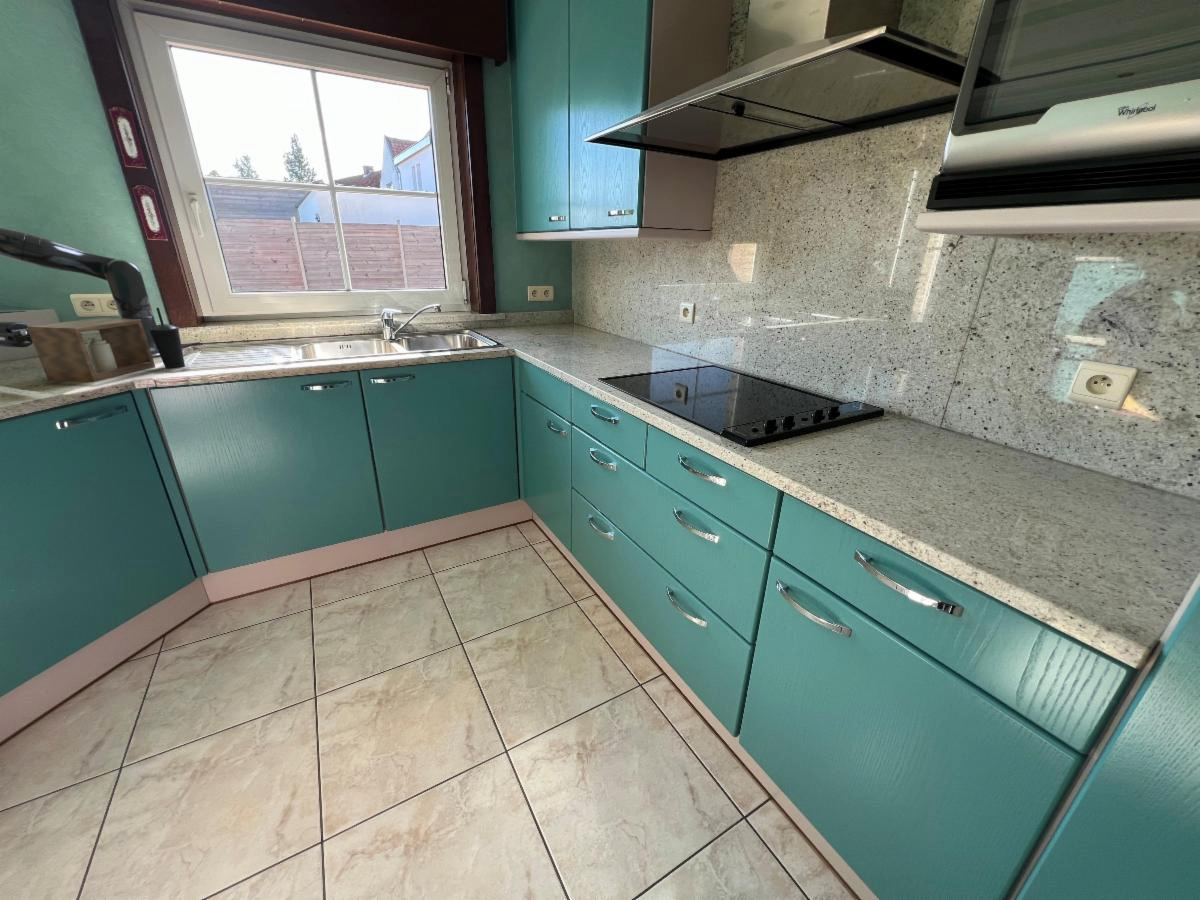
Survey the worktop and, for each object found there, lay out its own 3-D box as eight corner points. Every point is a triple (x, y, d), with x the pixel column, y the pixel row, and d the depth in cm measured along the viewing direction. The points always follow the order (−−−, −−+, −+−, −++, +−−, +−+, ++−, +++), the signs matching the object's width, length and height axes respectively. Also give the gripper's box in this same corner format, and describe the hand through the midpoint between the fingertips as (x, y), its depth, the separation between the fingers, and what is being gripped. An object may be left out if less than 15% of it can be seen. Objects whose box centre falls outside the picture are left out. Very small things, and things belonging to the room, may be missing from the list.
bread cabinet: (49, 383, 143) (26, 326, 137) (115, 369, 161) (98, 318, 155) (95, 385, 142) (74, 328, 136) (156, 370, 161) (140, 319, 155)
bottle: (112, 370, 154) (100, 335, 150) (123, 372, 153) (111, 336, 149) (92, 374, 150) (78, 337, 146) (103, 375, 148) (90, 339, 144)
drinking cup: (174, 367, 165) (156, 306, 158) (196, 368, 165) (179, 307, 158) (154, 372, 158) (134, 308, 151) (177, 373, 158) (158, 309, 151)
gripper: (-29, 324, 140) (26, 326, 139) (28, 318, 153) (78, 320, 153) (-17, 350, 143) (36, 353, 142) (37, 342, 156) (86, 345, 155)
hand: (57, 336), depth 147 cm, fingers open, 8 cm apart
